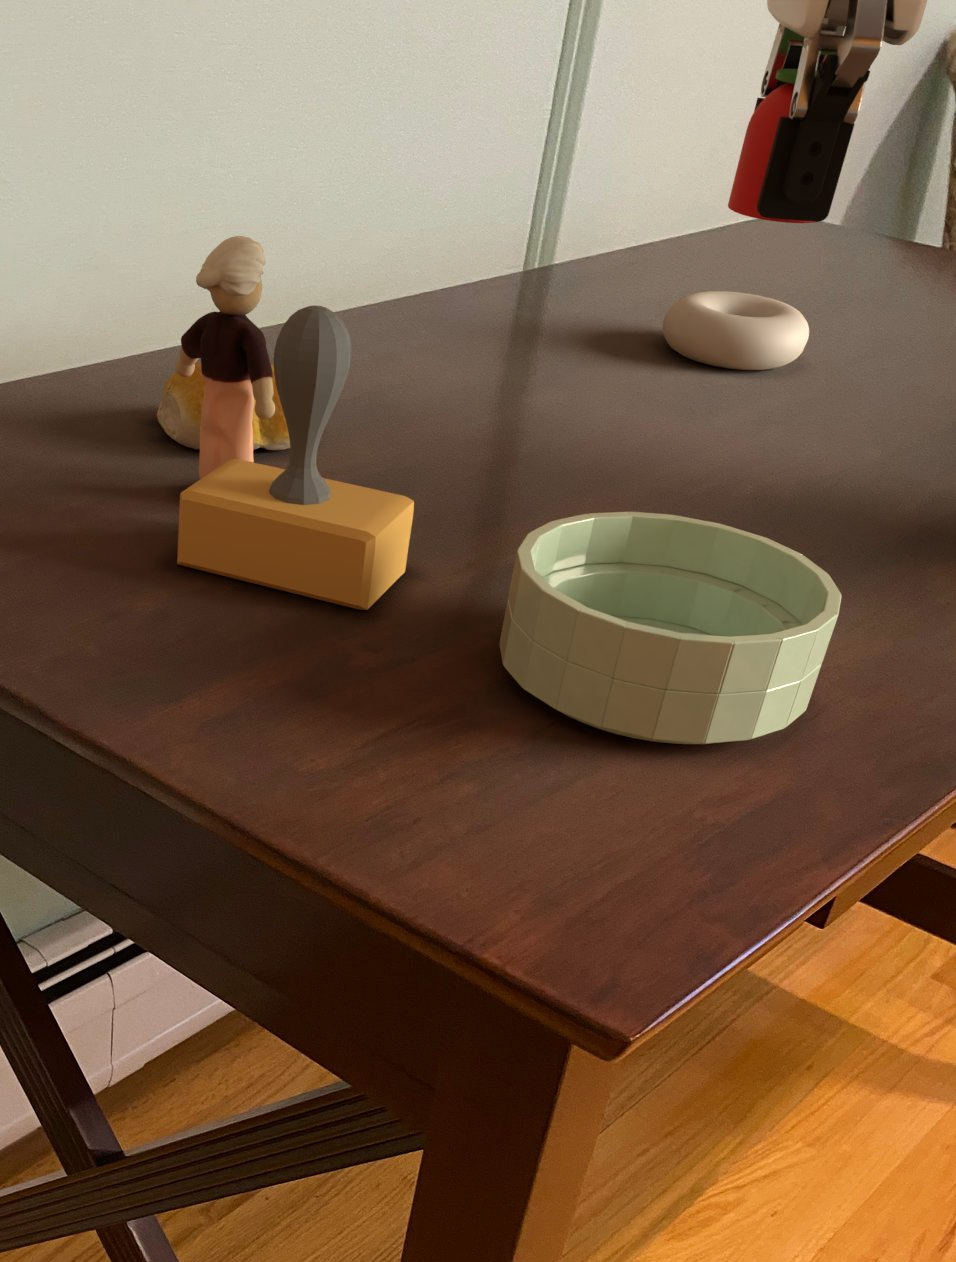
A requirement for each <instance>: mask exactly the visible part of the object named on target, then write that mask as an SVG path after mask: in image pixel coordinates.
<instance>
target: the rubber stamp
mask: <svg viewBox="0 0 956 1262" xmlns="http://www.w3.org/2000/svg"><path fill="white" fill-rule="evenodd" d="M351 359H352V341H351V337H350V333H349V330H348V327H346V325H345V321H343V320H342V319H341V318H340V316H339V315H338V314H337V313H335V312H334V311H333V310H332V309H330V308H327V307H326V306H322V305H308V306H305V307H302V308H300V309H297V310H296V311H295V312H293V313H292V314H291V315H290V316H289V317H288V319H287V320H286V321H285V322H284V324H283V326H282V327H281V329H280V331H279V334H278V336H277V338H276V342H275V346H274V350H273V365H274V375H275V382H276V387H277V391H278V395H279V399H280V402H281V406H282V409H283V413H284V416H285V420H286V424H287V428H288V433H289V439H290V448H289V450H290V454H289V459H288V460H289V461H288V464H287V467H286V468H285V469H284V468H280V467H275V466H271V465H265V464H261V463H257V462H254V463H253V462H249V461H244V460H240V459H235V458H234V459H231V460H229V461H227V462H225V463H224V464H222V465H221V466H219V467H218V468H216V469H215V470H213V471H212V472H210V473H209V474H208V475H206V476H205V477H203V478H202V479H200V478H199V480H197V481H196V482H194V483H192V485H190V486H188V487H186V489H185V490H184V489H183V490H182V491H181V492H180V494H179V511H178V512H179V513H178V535H177V536H178V537H177V559H176V561H177V562H176V564H177V565H179V566H183V567H186V568H190V569H195V570H199V571H203V572H207V573H211V574H215V575H219V576H223V577H227V578H231V579H235V580H239V581H243V582H247V583H251V584H255V585H259V586H262V587H263V586H264V587H267V588H270V589H275V590H278V591H279V590H280V591H282V592H283V591H284V592H287V593H292V594H295V595H299V596H303V597H307V598H311V599H316V600H319V601H323V602H327V603H331V604H334V605H340V606H343V607H347V608H352V609H355V610H360V611H365V610H366V611H367V610H369V609H370V608H371V607H372V606H373V605H374V604H375V603H376V602H377V601H378V600H379V599H380V598H381V597H382V596H383V595H384V594H385V593H386V592H387V591H388V590H389V589H390V588H391V587H392V586H393V585H394V583H396V582H397V581H398V579H400V577H402V576H403V575H404V574H405V573H406V568H407V561H408V553H409V547H410V540H411V533H412V526H413V520H414V511H415V510H414V509H415V507H414V506H415V500H413V499H411V498H409V497H408V496H406V495H402V494H397V493H393V492H388V491H384V490H379V489H374V488H371V487H366V486H361V485H357V484H352V483H348V482H344V481H339V480H334V479H329V478H325V477H322V475H321V474H320V472H319V469H318V466H317V455H318V450H319V445H320V442H321V439H322V436H323V433H324V430H325V428H326V427H327V424H328V422H329V419H330V418H331V415H332V413H333V412H334V410H335V407H336V405H337V403H338V401H339V399H340V396H341V394H342V391H343V389H344V388H345V387H344V386H345V384H346V380H347V377H348V376H349V371H350V366H351V361H352V360H351Z"/></svg>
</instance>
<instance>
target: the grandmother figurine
mask: <svg viewBox="0 0 956 1262" xmlns="http://www.w3.org/2000/svg"><path fill="white" fill-rule="evenodd" d="M265 255H266V254H265V251H264V247H263V246H262V245H261V244H260V243H259V242H257V241H255V240H254V239H253V238H251V237H249V236H245V235H234V236H231V237H229V238H225V240H223V241H221V242H220V243H219V244H218V245H217V246H216V247H215V248H213V250H212V251H211V252H210V253H209V254H208V255H207V257H206V258H205V260H204V262H203V264H202V265H201V268H200V271H199V272H198V273H197V275H196V277H195V282H196V285H197V286H198V287H200V288H202V289H204V290H207V291H209V292H210V297H211V300H212V302H213V305H214V306H215V307H216V308H217V310H218V311H209V312H208V313H206V314H204V315H202V316H201V317H199V318H198V319H197V320H196V321H194V322H193V324H192V325H190V327H189V328H188V329H187V330H186V331H185V332H184V333H183V334H182V336H181V337H180V344H181V347H180V349H179V353H178V354H179V355H178V356H179V358H178V359H177V360H176V363H175V371H176V372H177V373H178V374H179V375H180V376H182V377H189V376H191V375H192V374H193V372H194V369H195V364H197V362H198V360H199V359H200V364H201V371H202V375H203V378H204V381H205V384H206V385H205V392H204V399H203V404H202V411H201V424H200V449H199V456H198V459H199V460H198V476H199V480H200V479H202V478H203V477H205V476H206V475H208V474H209V473H210V472H212V471H213V470H215V469H216V468H218V467H219V466H221V465H222V464H224V463H225V462H227V461H229V460H231V459H234V458H235V459H240V460H244V461H249V462H253V463H255V460H254V450H253V430H252V418H253V408H254V398H255V401H256V403H255V413H256V415H257V417H259V418H260V419H269V418H271V417H272V416H273V415H274V413H275V404H274V402H273V400H272V397H273V394H274V393H273V382H272V379H273V372H272V367H271V365H272V364H271V360H270V356H269V353H268V349H267V341H266V337H265V335H264V332H263V331H262V330H261V329H260V328H259V327H258V326H257V325H256V324H255V323H254V322H253V321H252V320H251V319H249V317H248V316H247V315H249V313H251V312H252V311H254V310H255V309H256V307H257V306H258V304H259V303H260V300H261V298H262V293H263V282H262V278H261V275H263V274H264V267H265V265H266V256H265Z"/></svg>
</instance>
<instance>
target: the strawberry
mask: <svg viewBox="0 0 956 1262" xmlns="http://www.w3.org/2000/svg"><path fill="white" fill-rule="evenodd" d="M797 72H798V69H780V70H778V71H777V74H776V79H777V80H780V81H783V82H787V83H786V84H784V85H782V86H780V87H778V88H777V89H775V90H774V91H772V92H771V93H770V94H769V95H768V96H766V97H763V98H764V100H763V101H762V102H761V103H760V104H759V106H758V107H757V108H756V110H755V109H754V110H755V111H754V110H753V113H752V116H751V117H750V118H749V119H750V120H749V121H748V123H747V127H746V130H745V135H744V139H743V142H742V145H741V151H740V155H739V158H738V163H737V166H736V171H735V175H734V178H733V182H732V186H731V190H730V195H729V199H728V204H727V207H728V209H729V210H731V211H732V212H734V213H736V214H739V215H741V216H745V217H748V218H752V219H758V220H763V221H768V222H769V221H770V222H778V223H786V224H787V223H788V224H814V223H816V222H814V221H802V220H790V219H778V218H766V217H762V216H761V215H760V214H759V213H758V211H757V204H758V200H759V196H760V192H761V188H762V184H763V181H764V177H765V173H766V169H767V165H768V161H769V157H770V154H771V150H772V146H773V142H774V138H775V134H776V131H777V127H778V123H779V119H780V116H784V117H789V111H790V105H791V100H792V96H793V91H794V86H795V81H796V77H797ZM817 74H818V71H816V75H815V77H816V76H817ZM824 220H826V219H824ZM824 220H823V221H824Z"/></svg>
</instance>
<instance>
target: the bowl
mask: <svg viewBox="0 0 956 1262" xmlns="http://www.w3.org/2000/svg"><path fill="white" fill-rule="evenodd" d="M511 574H512V575H511V581H510V585H509V589H508V596H507V601H506V607H505V613H504V617H503V623H502V628H501V633H500V638H499V639H500V640H499V643H498V646H499V650H500V655H501V662H502V665H503V667H504V669H505V670H506V671H507V672H508V674H510V676H511V677H512V678H513V679H514V680H515V682H516V683H517V684H518V685H519V686H520V688H522V689H523V690H524V691H526V692H527V693H528V694H530V695H531V696H534V697H535V698H537V699H538V700H540V701H541V702H543V703H545V704H546V705H548V706H549V707H551V708H552V709H554V710H556V711H558V712H559V713H561V714H563V715H565V716H567V717H568V718H571V719H573V720H576V721H577V722H580V723H582V724H584V725H588V726H590V727H593V728H595V729H598V730H601V731H605V732H608V733H612V734H614V735H618V736H622V737H627V738H631V739H637V740H642V741H647V742H654V743H663V744H664V743H665V744H672V745H673V744H674V745H710V744H712V745H713V744H721V743H730V742H740V741H741V742H742V741H750V740H753V739H756V738H760V737H763V736H766V735H769V734H772V733H775V732H779V731H782V730H785V729H786V728H787V727H788V726H790V725H791V724H792V723H793V722H794V721H796V719H798V718H799V717H800V716H801V715H803V714H804V713H805V712H806V711H807V710H808V709H807V708H808V706H809V704H810V700H811V697H812V694H813V691H814V688H815V685H816V683H817V679H818V677H819V674H820V670H821V667H822V664H823V662H824V659H825V657H826V653H827V650H828V647H829V645H830V642H831V638H832V635H833V632H834V629H835V627H836V624H837V621H838V618H839V614H840V609H841V604H842V598H843V596H842V593H841V591H840V589H839V588H838V587H837V585H836V583H835V581H834V580H833V579H832V577H831V576H830V574H829V573H828V572H827V571H826V570H824V569H823V568H822V567H820V566H819V565H817V564H816V563H815V562H813V561H812V560H811V559H809V558H808V557H806V556H805V555H804V554H802V553H800V552H799V551H795V549H792V548H790V547H788V546H785V545H783V544H781V543H779V542H776V541H775V540H773V539H770V538H769V537H765V536H762V535H759V534H756V533H752V532H750V531H746V530H743V529H739V528H736V527H732V526H731V525H726V524H722V523H719V522H714V521H708V520H702V519H697V518H691V517H686V516H682V515H675V514H668V513H656V512H655V513H654V512H643V511H642V512H641V511H615V512H614V511H613V512H611V511H610V512H592V513H591V512H590V513H589V512H588V513H583V514H579V515H578V514H577V515H573V516H569V517H564V518H558V519H555V520H551V521H549V522H547V523H544V524H543V525H541V526H539V527H537V528H535V529H534V530H531V531H529V532H528V533H527V535H526V536H525V538H524V539H523V540H522V542H521V544H520V545H519V547H518V548H517V549H516V554H515V559H514V564H513V570H512V573H511Z"/></svg>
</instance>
